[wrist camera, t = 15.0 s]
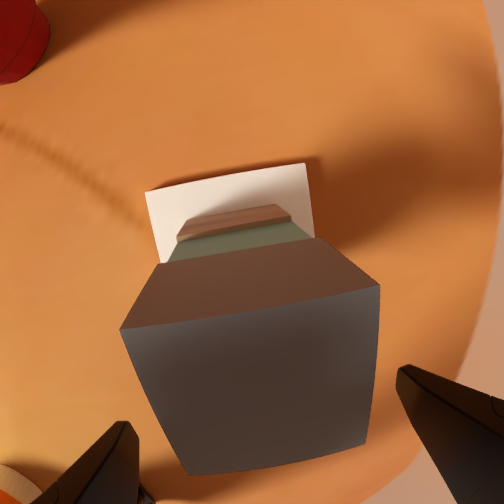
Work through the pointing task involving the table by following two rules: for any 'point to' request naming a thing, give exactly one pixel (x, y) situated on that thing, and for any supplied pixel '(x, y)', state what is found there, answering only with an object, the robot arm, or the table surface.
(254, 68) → the table surface
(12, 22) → the plastic cup
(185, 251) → the teal brick
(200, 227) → the walnut brick
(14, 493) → the reusable coffee cup
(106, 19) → the table surface
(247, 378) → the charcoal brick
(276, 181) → the base plate
